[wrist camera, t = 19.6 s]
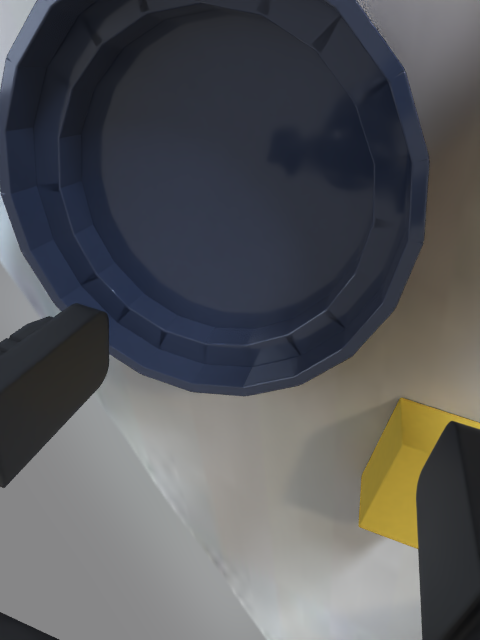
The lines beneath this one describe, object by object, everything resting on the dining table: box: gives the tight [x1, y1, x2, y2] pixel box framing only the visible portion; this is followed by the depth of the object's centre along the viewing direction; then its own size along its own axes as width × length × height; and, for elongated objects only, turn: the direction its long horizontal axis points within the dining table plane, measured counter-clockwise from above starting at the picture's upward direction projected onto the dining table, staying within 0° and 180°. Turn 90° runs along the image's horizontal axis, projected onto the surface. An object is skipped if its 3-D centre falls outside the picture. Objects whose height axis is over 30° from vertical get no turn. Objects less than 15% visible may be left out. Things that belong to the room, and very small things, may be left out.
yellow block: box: [359, 398, 480, 549], centre depth 25 cm, size 7×5×4 cm, turn 169°
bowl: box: [0, 0, 430, 396], centre depth 21 cm, size 19×19×4 cm
